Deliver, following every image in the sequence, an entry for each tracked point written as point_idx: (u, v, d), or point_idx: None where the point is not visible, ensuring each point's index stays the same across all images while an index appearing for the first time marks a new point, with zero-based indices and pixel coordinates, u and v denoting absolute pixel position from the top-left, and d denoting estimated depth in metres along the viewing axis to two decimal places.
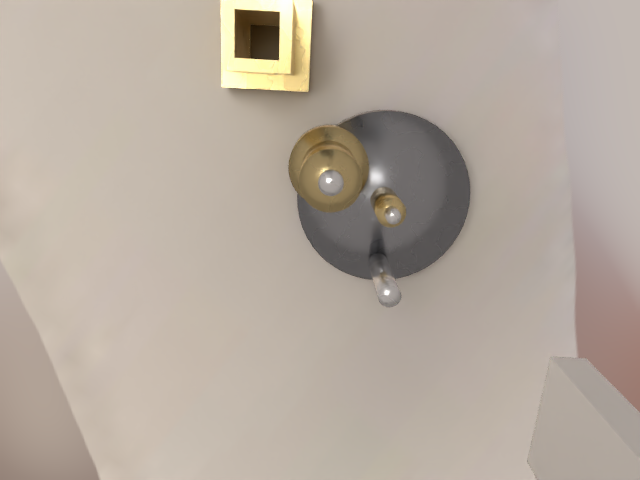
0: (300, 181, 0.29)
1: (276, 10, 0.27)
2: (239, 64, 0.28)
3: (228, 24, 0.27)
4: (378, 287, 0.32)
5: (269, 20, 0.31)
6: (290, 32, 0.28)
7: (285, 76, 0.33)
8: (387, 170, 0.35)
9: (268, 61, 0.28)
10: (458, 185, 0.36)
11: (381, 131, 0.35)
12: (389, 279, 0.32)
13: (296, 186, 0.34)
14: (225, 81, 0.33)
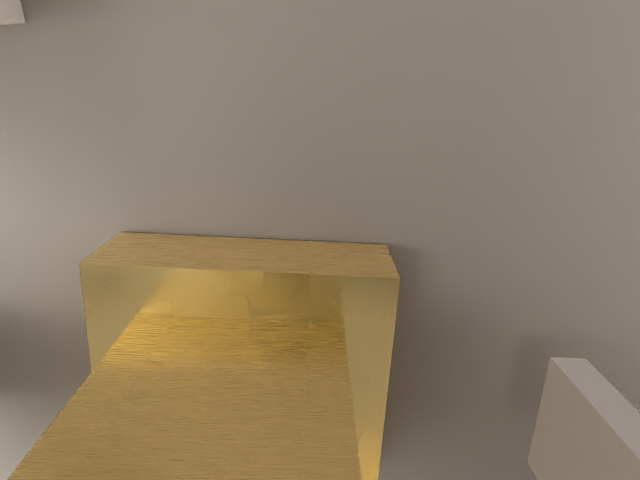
0: None
1: None
2: None
3: None
4: None
5: None
6: None
7: None
8: None
9: None
10: None
11: None
12: None
13: None
14: None
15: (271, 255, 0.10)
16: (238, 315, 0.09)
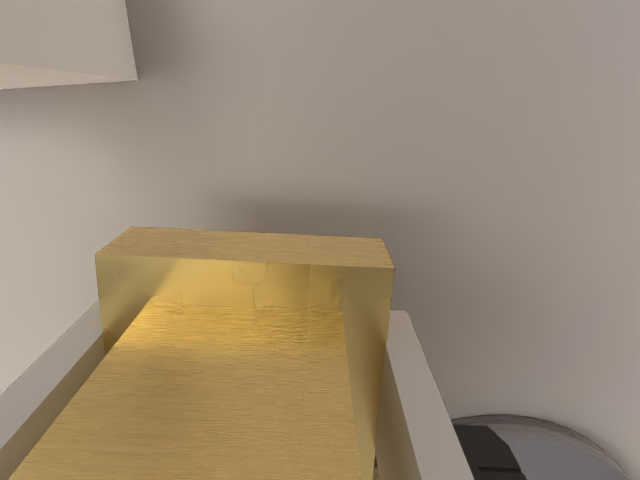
0: None
1: None
2: None
3: None
4: None
5: None
6: None
7: None
8: None
9: None
10: None
11: None
12: None
13: None
14: None
15: (274, 248, 0.10)
16: (242, 303, 0.10)
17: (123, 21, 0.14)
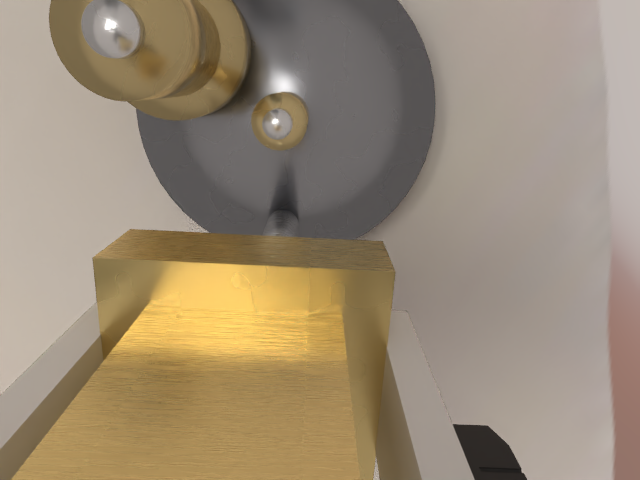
0: (53, 29, 0.13)
1: None
2: None
3: None
4: None
5: None
6: None
7: None
8: (289, 60, 0.20)
9: None
10: (415, 89, 0.21)
11: None
12: None
13: None
14: None
15: (273, 251, 0.10)
16: (241, 306, 0.10)
17: None
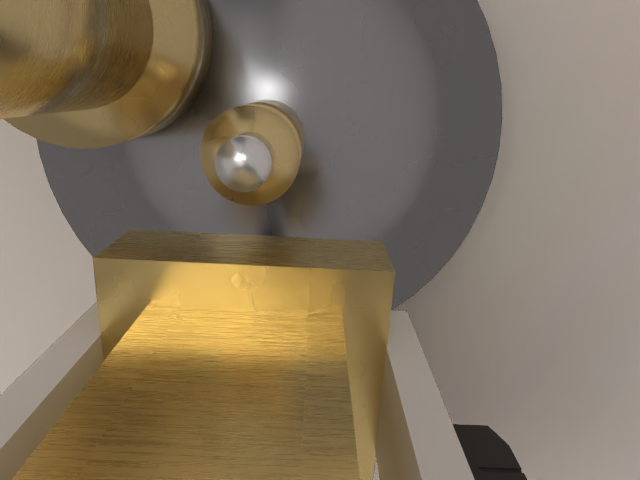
0: None
1: None
2: None
3: None
4: None
5: None
6: None
7: None
8: (273, 51, 0.13)
9: None
10: (472, 96, 0.13)
11: None
12: None
13: None
14: None
15: (273, 251, 0.10)
16: (241, 306, 0.10)
17: None
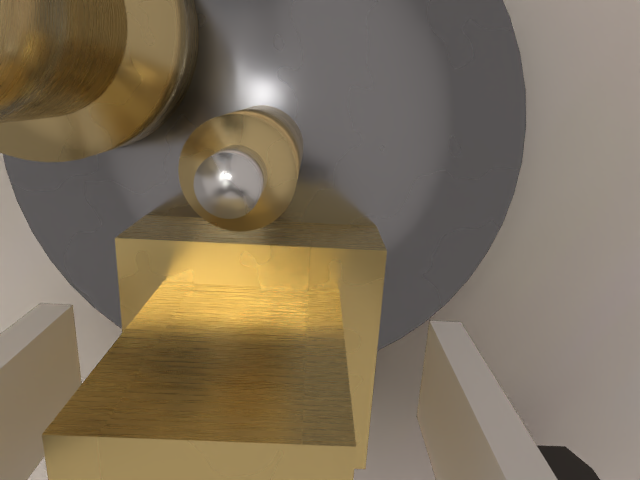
0: None
1: None
2: None
3: None
4: None
5: None
6: None
7: None
8: (268, 50, 0.11)
9: None
10: (492, 101, 0.12)
11: None
12: None
13: None
14: None
15: (276, 233, 0.11)
16: (248, 282, 0.11)
17: None
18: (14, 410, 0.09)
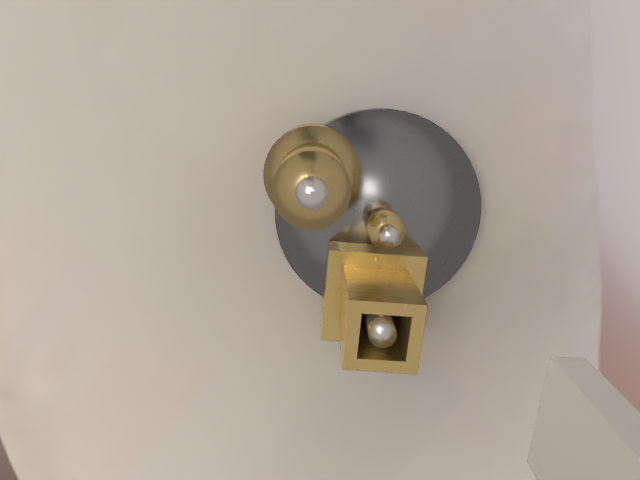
0: (273, 190, 0.23)
1: (407, 315, 0.25)
2: (361, 364, 0.25)
3: (353, 327, 0.25)
4: (369, 323, 0.26)
5: None
6: (421, 336, 0.25)
7: None
8: (383, 180, 0.30)
9: (393, 362, 0.25)
10: (468, 200, 0.30)
11: (377, 133, 0.29)
12: None
13: None
14: (325, 335, 0.30)
15: None
16: (375, 268, 0.29)
17: None
18: None
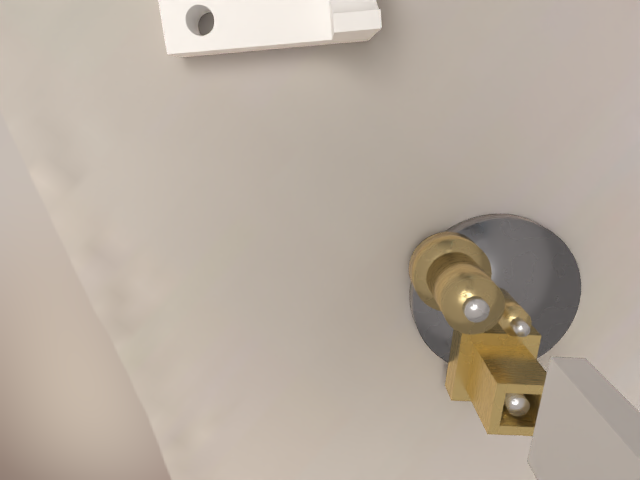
0: (445, 307, 0.30)
1: (541, 393, 0.32)
2: (502, 430, 0.33)
3: (498, 403, 0.32)
4: (505, 396, 0.33)
5: None
6: None
7: None
8: (502, 272, 0.37)
9: (528, 428, 0.33)
10: (570, 286, 0.37)
11: (499, 237, 0.36)
12: None
13: (420, 293, 0.35)
14: (455, 396, 0.38)
15: None
16: (499, 344, 0.36)
17: None
18: None
